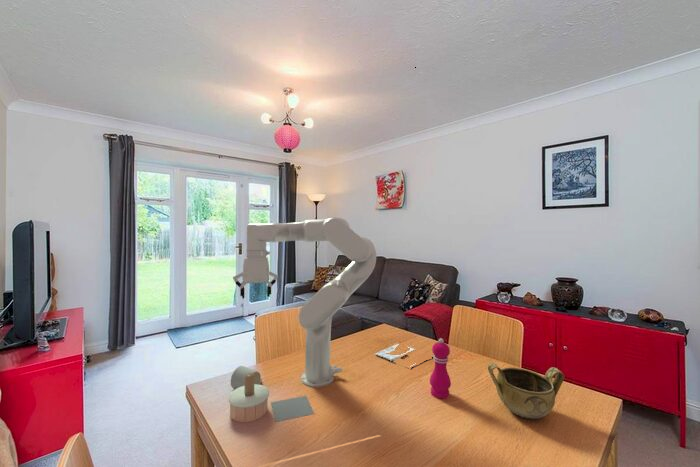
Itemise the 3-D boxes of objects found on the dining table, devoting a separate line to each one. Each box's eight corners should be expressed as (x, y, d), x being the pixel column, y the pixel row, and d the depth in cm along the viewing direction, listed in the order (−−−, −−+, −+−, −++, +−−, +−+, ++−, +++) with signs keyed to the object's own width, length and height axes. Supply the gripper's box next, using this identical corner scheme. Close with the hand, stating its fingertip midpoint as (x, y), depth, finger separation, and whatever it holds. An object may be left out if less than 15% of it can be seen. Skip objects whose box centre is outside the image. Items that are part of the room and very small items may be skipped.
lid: (266, 387, 105) (267, 364, 105) (271, 406, 94) (271, 380, 93) (228, 393, 100) (229, 369, 100) (228, 414, 89) (229, 387, 89)
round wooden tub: (264, 399, 104) (265, 384, 104) (269, 418, 94) (269, 402, 94) (230, 406, 100) (230, 390, 100) (230, 426, 90) (230, 409, 90)
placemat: (306, 396, 106) (306, 395, 106) (314, 414, 96) (314, 413, 96) (270, 403, 102) (270, 402, 102) (275, 423, 92) (275, 422, 92)
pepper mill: (451, 391, 111) (453, 337, 111) (449, 402, 105) (450, 343, 105) (431, 387, 114) (432, 333, 114) (427, 396, 108) (429, 340, 108)
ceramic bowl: (498, 426, 93) (499, 376, 92) (479, 395, 109) (480, 353, 109) (576, 431, 91) (578, 381, 90) (545, 399, 108) (546, 357, 107)
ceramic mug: (248, 397, 106) (249, 374, 106) (229, 392, 108) (230, 370, 108) (267, 383, 116) (267, 362, 116) (249, 379, 118) (249, 359, 118)
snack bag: (399, 346, 155) (399, 342, 155) (434, 359, 140) (435, 355, 140) (373, 356, 142) (373, 351, 142) (409, 372, 127) (409, 367, 127)
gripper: (277, 253, 129) (276, 293, 130) (233, 253, 123) (232, 296, 123) (279, 254, 122) (279, 297, 123) (233, 255, 116) (232, 300, 116)
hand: (255, 297), depth 123 cm, fingers open, 9 cm apart
